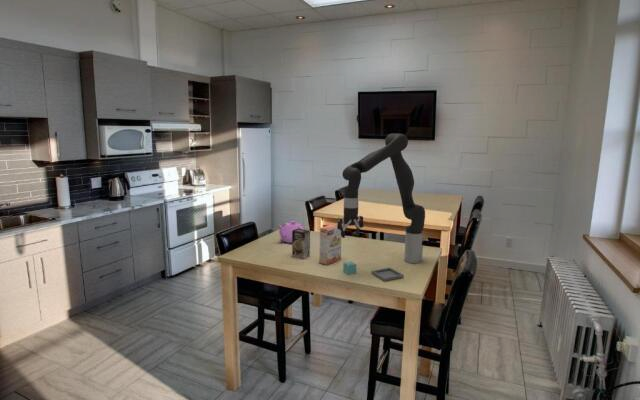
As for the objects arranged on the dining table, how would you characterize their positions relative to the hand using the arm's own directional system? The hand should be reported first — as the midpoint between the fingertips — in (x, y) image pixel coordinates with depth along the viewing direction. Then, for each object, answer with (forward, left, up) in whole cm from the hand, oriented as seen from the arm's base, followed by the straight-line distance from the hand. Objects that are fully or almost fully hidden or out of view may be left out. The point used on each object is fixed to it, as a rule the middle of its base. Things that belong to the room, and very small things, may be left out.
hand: (350, 236), depth 202 cm
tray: (-15, +13, -20) cm, 28 cm away
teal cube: (0, 0, -20) cm, 20 cm away
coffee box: (+13, -35, -20) cm, 42 cm away
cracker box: (+1, -20, -20) cm, 28 cm away
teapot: (+7, -67, -20) cm, 70 cm away
